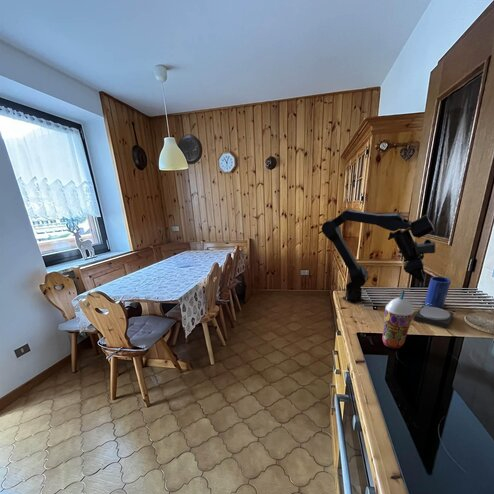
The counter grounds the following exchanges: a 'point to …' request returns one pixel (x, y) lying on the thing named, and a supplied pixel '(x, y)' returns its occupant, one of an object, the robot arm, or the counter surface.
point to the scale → (434, 316)
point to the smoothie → (397, 321)
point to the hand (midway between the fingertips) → (423, 278)
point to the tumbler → (437, 292)
